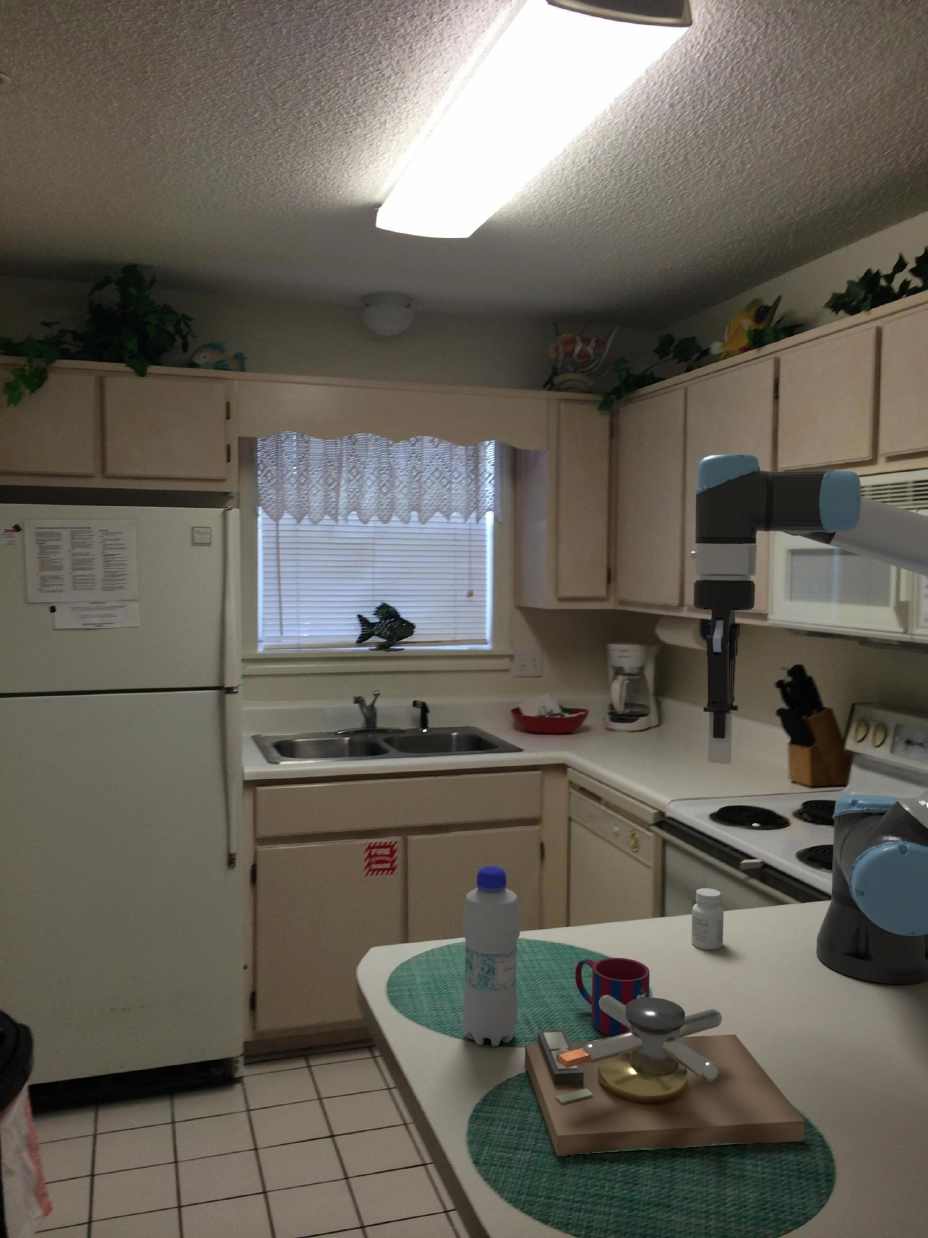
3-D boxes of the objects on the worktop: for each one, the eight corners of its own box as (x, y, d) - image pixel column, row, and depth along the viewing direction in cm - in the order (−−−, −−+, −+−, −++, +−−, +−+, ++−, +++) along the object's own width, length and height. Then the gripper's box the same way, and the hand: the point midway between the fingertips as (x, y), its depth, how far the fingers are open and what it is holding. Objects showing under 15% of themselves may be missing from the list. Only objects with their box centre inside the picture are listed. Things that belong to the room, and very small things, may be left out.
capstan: (781, 1094, 98) (783, 1028, 97) (618, 1152, 88) (619, 1079, 87) (664, 1019, 113) (665, 962, 113) (514, 1061, 103) (514, 999, 103)
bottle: (500, 1057, 109) (502, 880, 108) (449, 1041, 112) (451, 870, 111) (529, 1033, 115) (531, 864, 113) (480, 1018, 118) (482, 855, 117)
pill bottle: (715, 938, 144) (717, 886, 143) (727, 950, 139) (729, 896, 139) (686, 939, 143) (688, 887, 143) (698, 951, 139) (699, 898, 138)
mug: (620, 1044, 112) (621, 986, 112) (560, 1011, 120) (561, 957, 120) (660, 1028, 116) (661, 971, 116) (600, 997, 124) (601, 944, 124)
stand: (732, 1049, 111) (734, 1011, 111) (803, 1141, 94) (805, 1096, 94) (524, 1060, 108) (524, 1021, 108) (557, 1156, 91) (557, 1110, 91)
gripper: (701, 576, 132) (697, 750, 133) (686, 578, 120) (681, 769, 121) (759, 577, 129) (754, 755, 131) (750, 579, 117) (744, 775, 119)
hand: (719, 761), depth 126 cm, fingers closed
